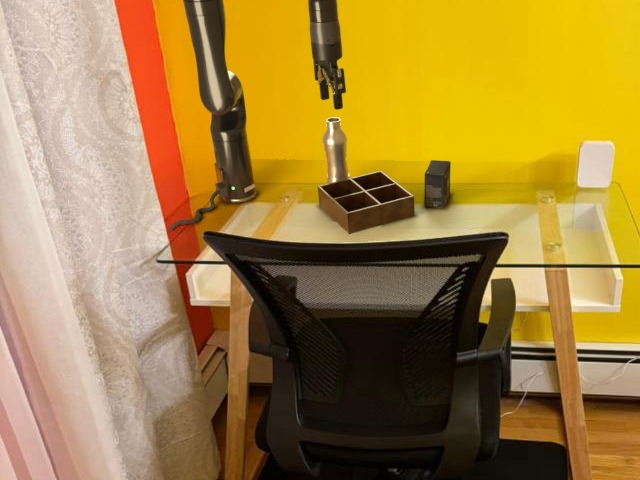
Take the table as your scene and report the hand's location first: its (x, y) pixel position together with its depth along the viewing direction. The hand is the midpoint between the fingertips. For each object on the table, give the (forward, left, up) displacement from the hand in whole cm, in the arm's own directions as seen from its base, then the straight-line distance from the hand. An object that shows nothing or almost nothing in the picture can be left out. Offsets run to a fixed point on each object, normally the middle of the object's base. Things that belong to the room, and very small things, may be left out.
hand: (331, 104), depth 203 cm
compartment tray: (+1, -15, -24) cm, 28 cm away
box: (+20, -19, -24) cm, 37 cm away
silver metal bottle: (0, 0, -24) cm, 24 cm away
